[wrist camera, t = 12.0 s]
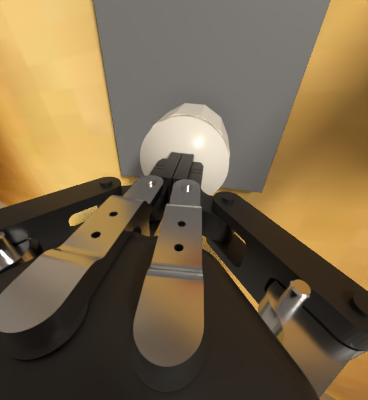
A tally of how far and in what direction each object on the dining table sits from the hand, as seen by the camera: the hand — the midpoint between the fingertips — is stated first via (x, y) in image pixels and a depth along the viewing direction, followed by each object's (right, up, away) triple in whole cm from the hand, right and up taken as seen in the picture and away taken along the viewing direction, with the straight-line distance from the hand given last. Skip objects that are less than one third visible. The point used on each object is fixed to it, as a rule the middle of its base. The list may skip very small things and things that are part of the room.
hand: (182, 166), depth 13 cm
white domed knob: (+1, +3, +4) cm, 5 cm away
